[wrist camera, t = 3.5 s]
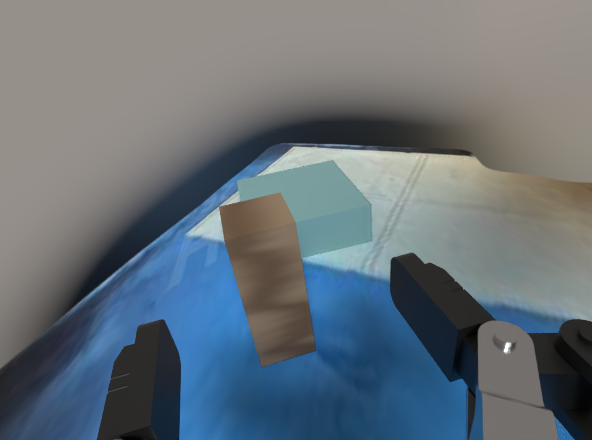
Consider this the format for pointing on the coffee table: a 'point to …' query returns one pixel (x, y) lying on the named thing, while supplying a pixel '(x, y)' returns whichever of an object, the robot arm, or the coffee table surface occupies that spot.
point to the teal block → (317, 205)
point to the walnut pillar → (269, 276)
